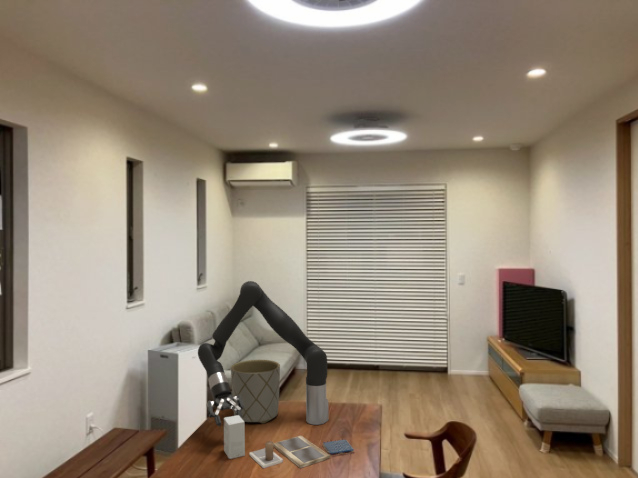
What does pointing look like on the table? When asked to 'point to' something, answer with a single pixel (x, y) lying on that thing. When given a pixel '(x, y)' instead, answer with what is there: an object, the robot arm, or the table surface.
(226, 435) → the small box
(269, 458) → the plate
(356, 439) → the table surface
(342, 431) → the table surface
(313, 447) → the board
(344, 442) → the woven mat
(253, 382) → the planter
